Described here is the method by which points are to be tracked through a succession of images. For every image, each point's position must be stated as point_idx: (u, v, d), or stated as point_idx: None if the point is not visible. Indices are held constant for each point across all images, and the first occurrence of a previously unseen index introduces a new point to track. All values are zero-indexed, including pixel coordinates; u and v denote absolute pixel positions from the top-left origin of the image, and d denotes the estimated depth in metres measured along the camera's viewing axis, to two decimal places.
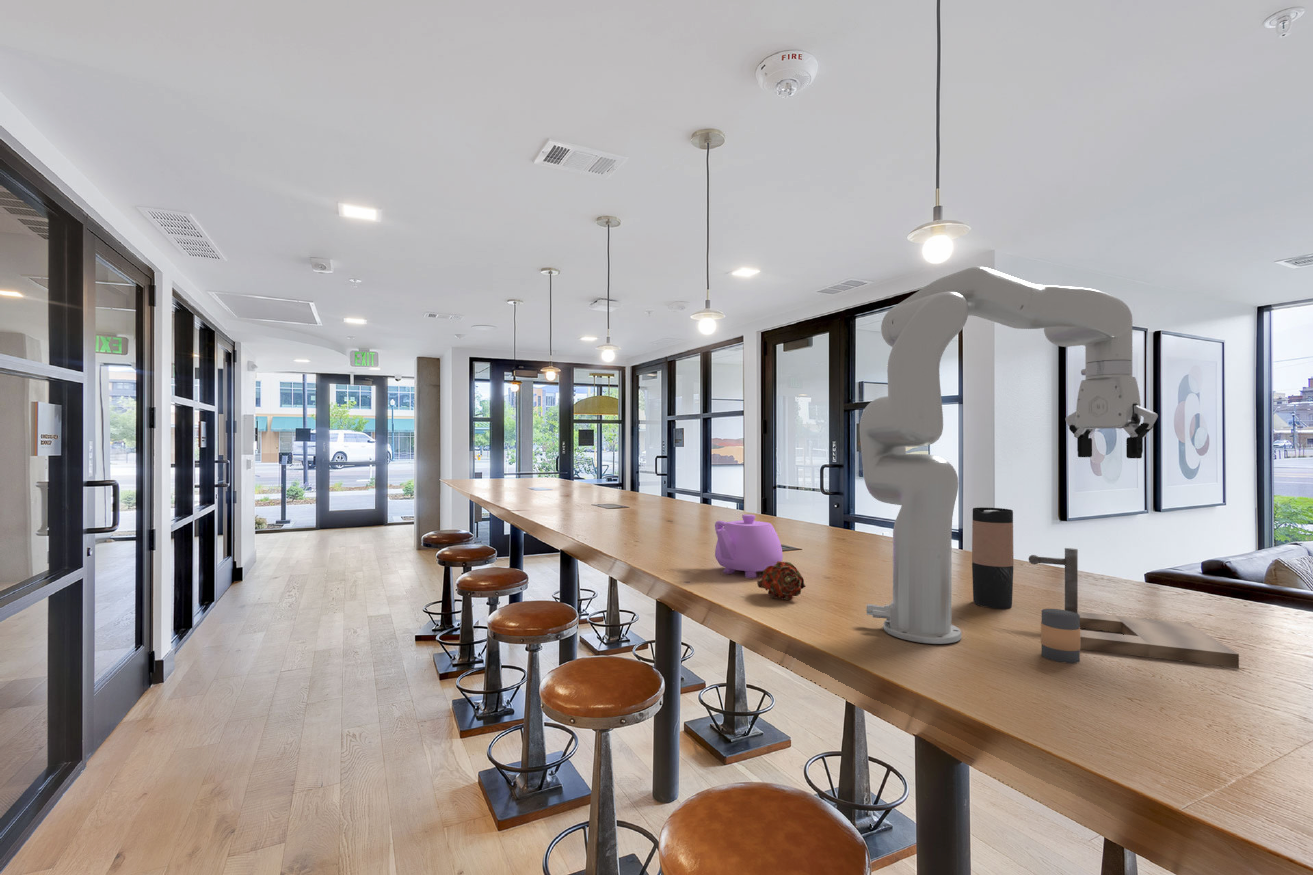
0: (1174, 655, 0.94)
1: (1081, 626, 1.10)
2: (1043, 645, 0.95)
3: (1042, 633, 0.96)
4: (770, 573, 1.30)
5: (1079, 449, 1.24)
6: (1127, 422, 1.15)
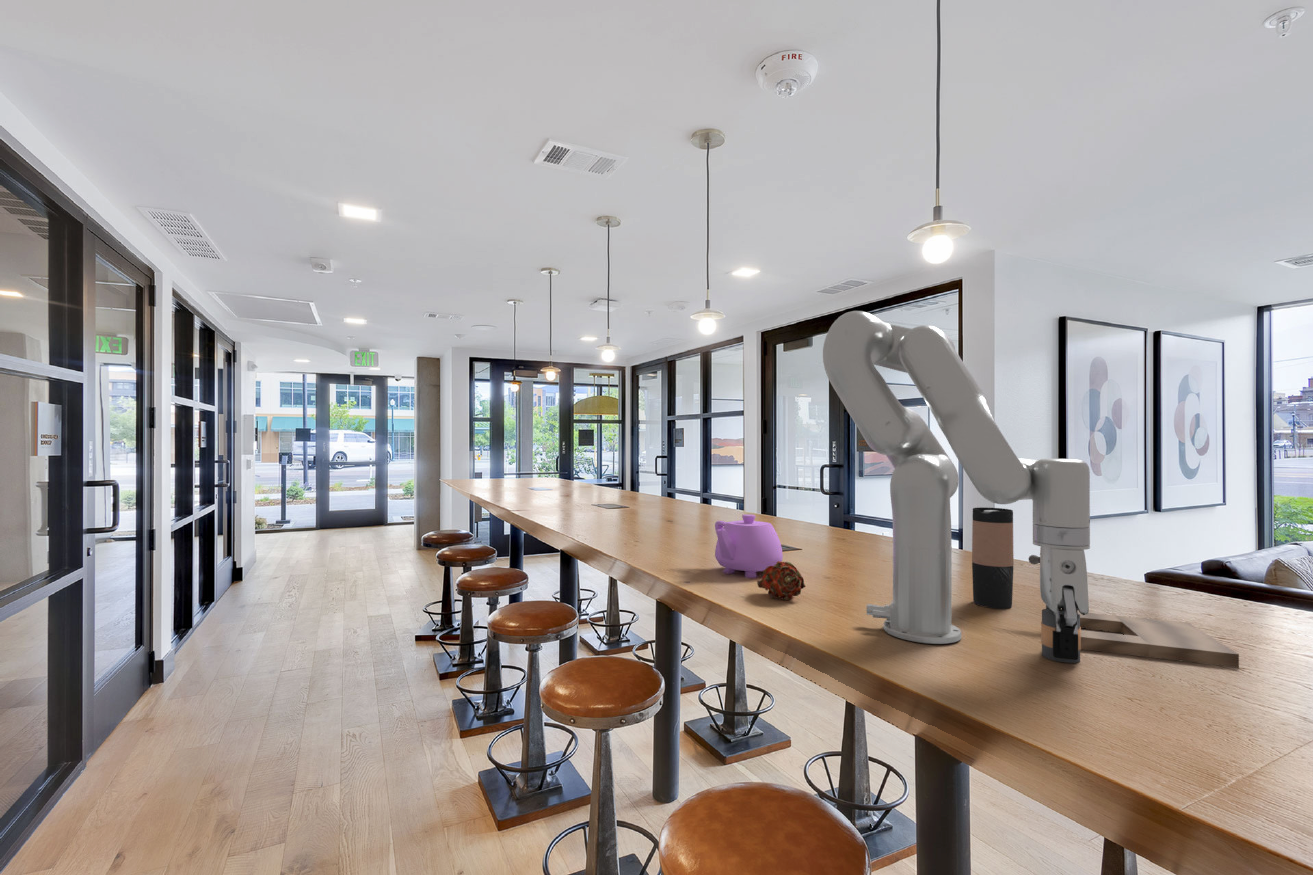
0: (1174, 655, 0.94)
1: (1081, 626, 1.10)
2: (1043, 645, 0.95)
3: (1042, 633, 0.96)
4: (770, 573, 1.30)
5: None
6: None
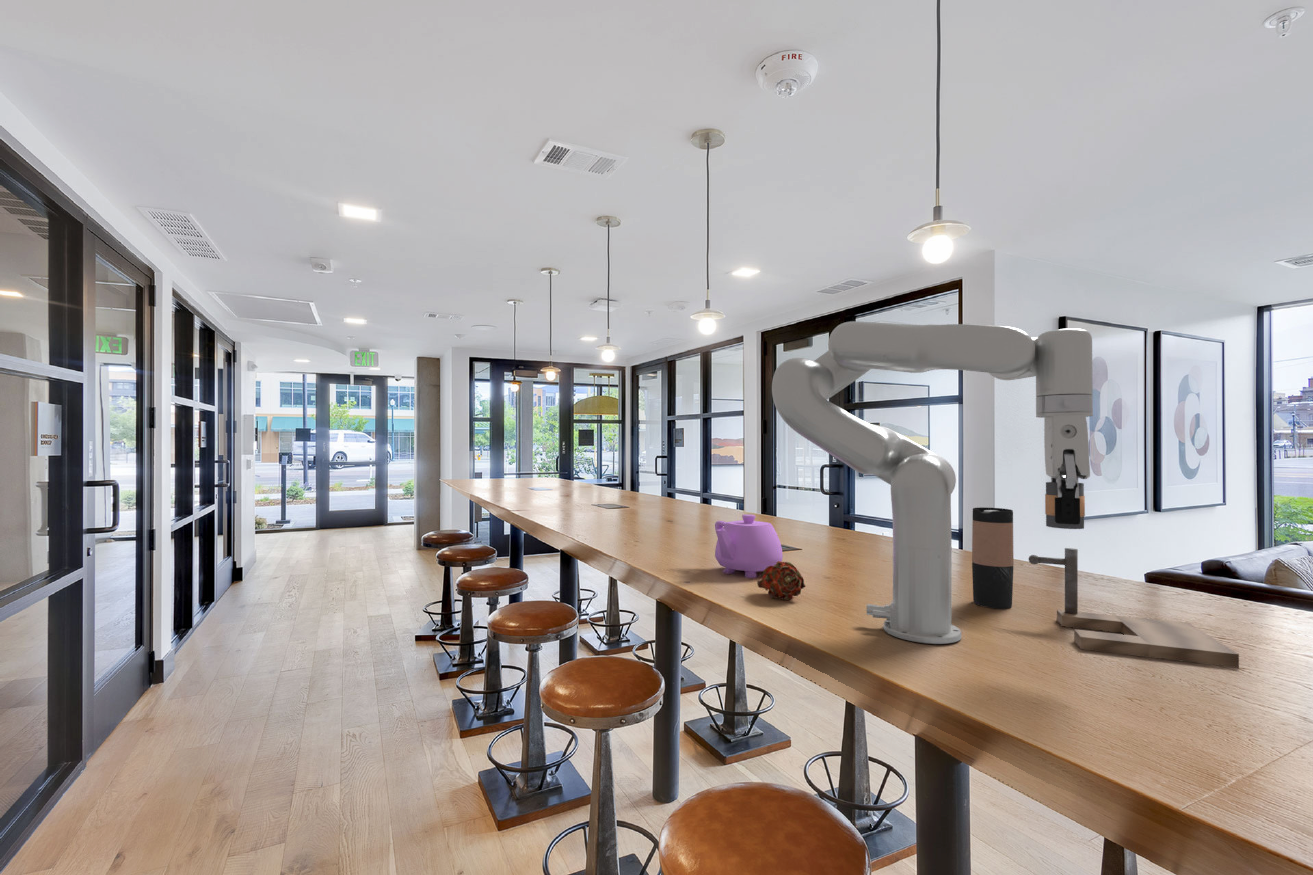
0: (1174, 655, 0.94)
1: (1081, 626, 1.10)
2: (1047, 515, 0.96)
3: (1046, 503, 0.97)
4: (770, 573, 1.30)
5: None
6: None
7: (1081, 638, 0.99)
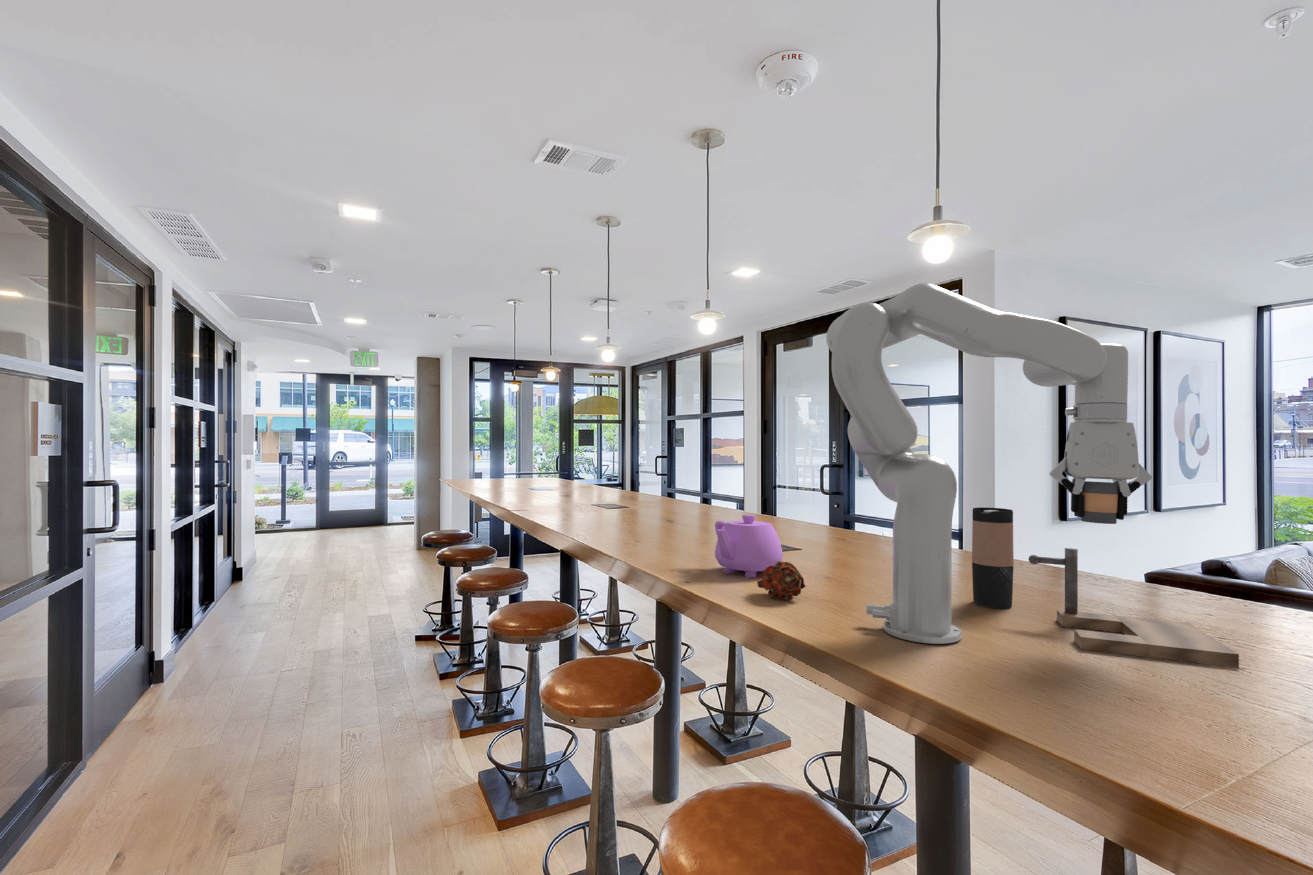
0: (1174, 655, 0.94)
1: (1081, 626, 1.10)
2: None
3: None
4: (770, 573, 1.30)
5: (1081, 508, 1.06)
6: None
7: (1081, 638, 0.99)
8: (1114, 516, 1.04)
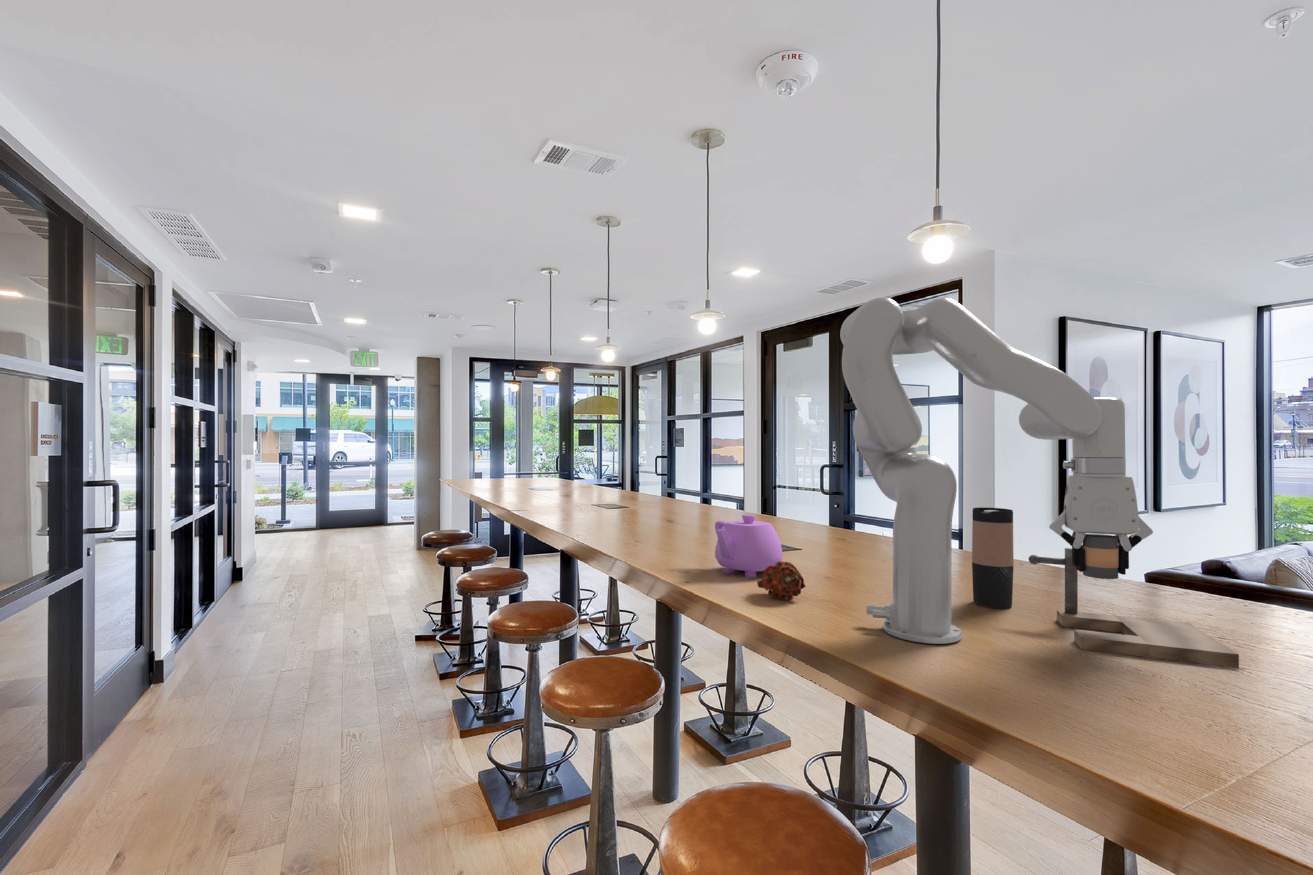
0: (1174, 655, 0.94)
1: (1081, 626, 1.10)
2: None
3: None
4: (770, 573, 1.30)
5: (1082, 562, 1.05)
6: None
7: (1081, 638, 0.99)
8: (1115, 571, 1.03)
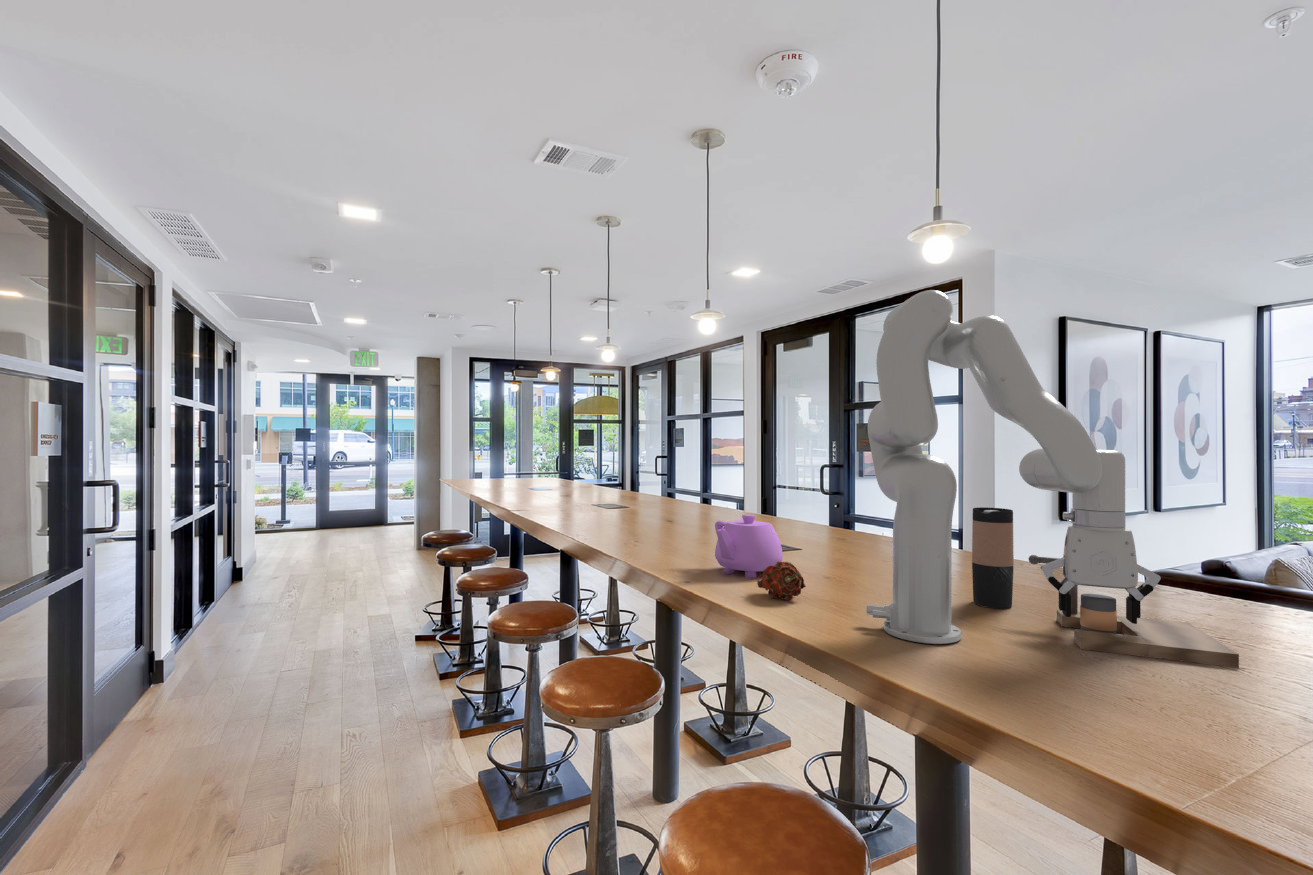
0: (1174, 655, 0.94)
1: None
2: None
3: None
4: (770, 573, 1.30)
5: (1068, 608, 1.06)
6: None
7: (1081, 638, 0.99)
8: None
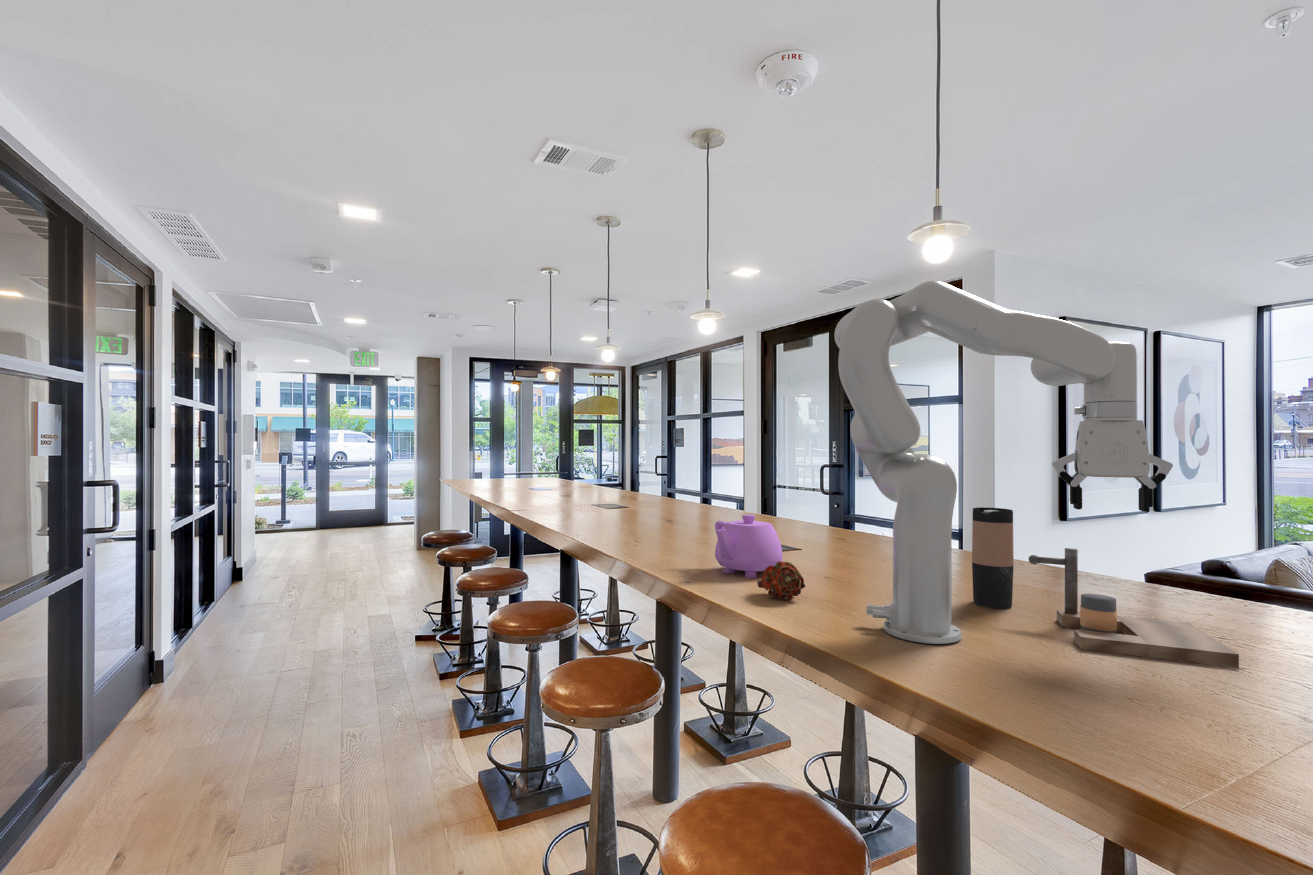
0: (1174, 655, 0.94)
1: None
2: None
3: None
4: (770, 573, 1.30)
5: (1079, 500, 1.07)
6: None
7: (1081, 638, 0.99)
8: None
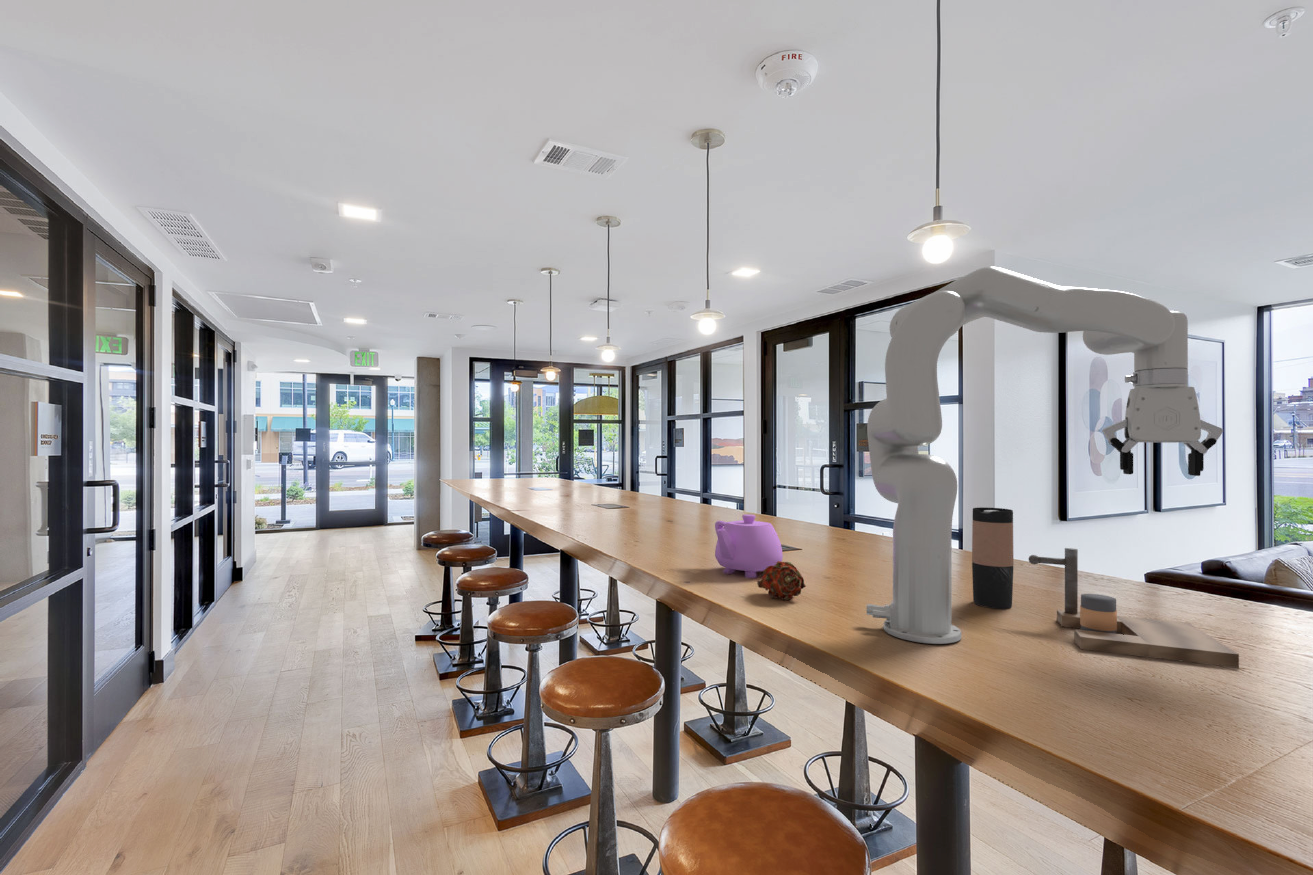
0: (1174, 655, 0.94)
1: None
2: None
3: None
4: (770, 573, 1.30)
5: (1130, 465, 1.10)
6: None
7: (1081, 638, 0.99)
8: None
